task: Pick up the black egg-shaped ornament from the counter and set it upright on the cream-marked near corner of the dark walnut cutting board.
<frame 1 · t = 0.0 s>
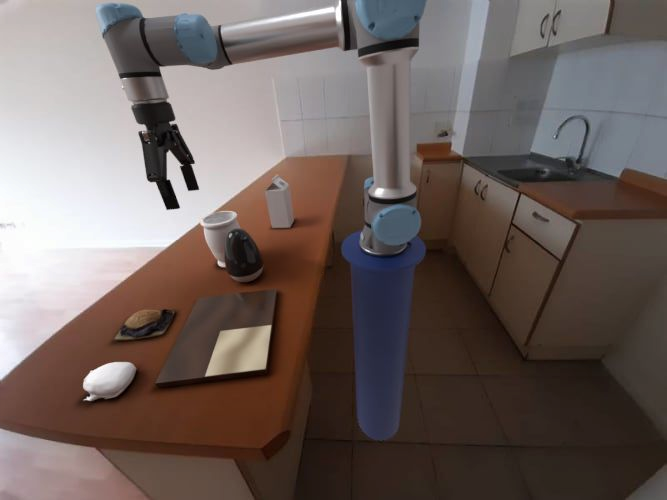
hand: (184, 198, 69), 24 cm above the worktop, tool pointing down, fingers open, 13 cm apart
jar: (231, 261, 88), on the worktop
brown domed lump: (147, 326, 65), on the worktop
milk carton: (283, 224, 110), on the worktop
cutting board: (228, 332, 62), on the worktop
garlic: (113, 385, 52), on the worktop
black egg-shaped ornament: (248, 277, 80), on the worktop
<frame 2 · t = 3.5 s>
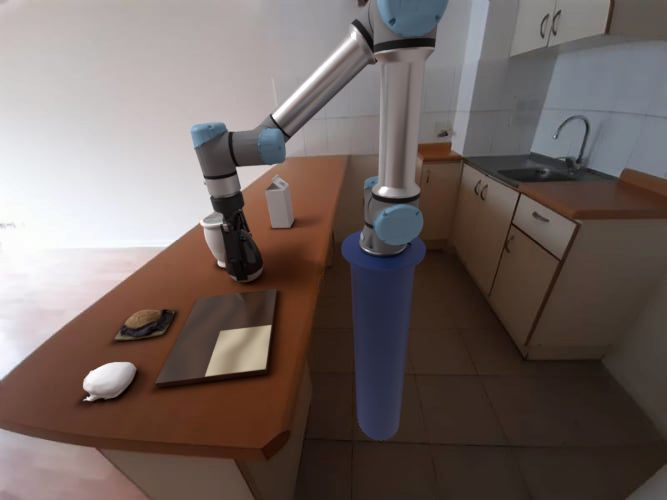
hand: (246, 268, 78), 3 cm above the worktop, tool pointing down, fingers closed on black egg-shaped ornament, 10 cm apart
black egg-shaped ornament: (248, 277, 80), on the worktop, touching gripper
everything else where it was.
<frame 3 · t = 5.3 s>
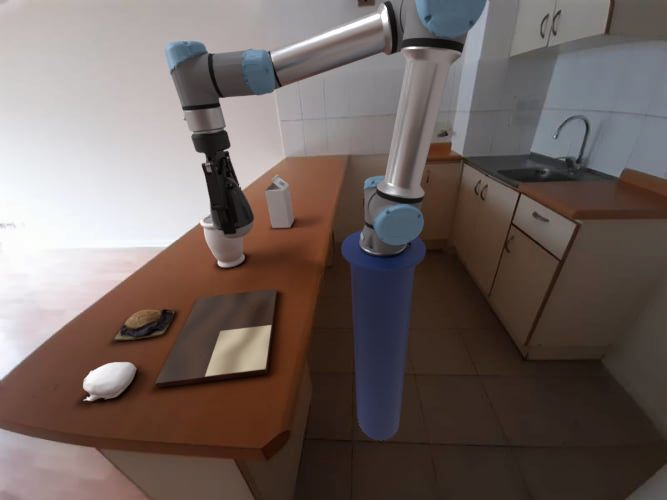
hand: (235, 224, 71), 17 cm above the worktop, tool pointing down, fingers closed on black egg-shaped ornament, 10 cm apart
black egg-shaped ornament: (238, 234, 73), point 14 cm above the worktop, touching gripper
everything else where it was.
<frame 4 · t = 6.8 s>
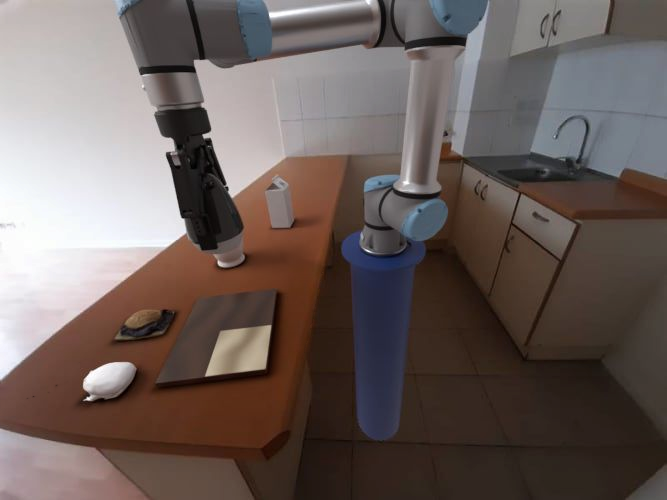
hand: (218, 235, 54), 22 cm above the worktop, tool pointing down, fingers closed on black egg-shaped ornament, 10 cm apart
black egg-shaped ornament: (222, 248, 55), point 19 cm above the worktop, touching gripper
everything else where it was.
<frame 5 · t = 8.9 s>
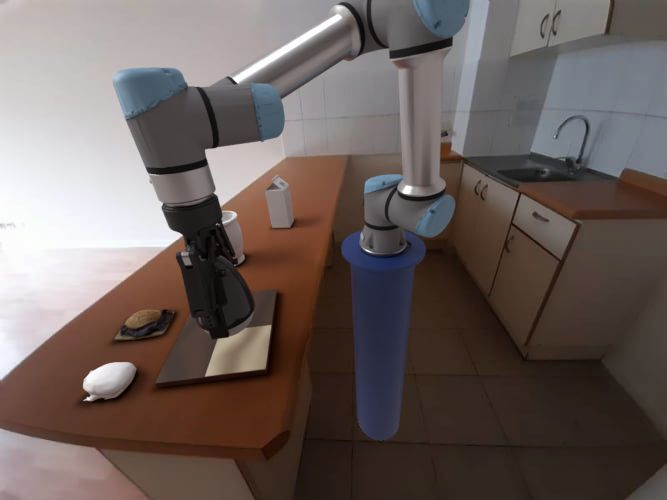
hand: (228, 313, 51), 11 cm above the worktop, tool pointing down, fingers closed on black egg-shaped ornament, 10 cm apart
black egg-shaped ornament: (232, 326, 52), point 8 cm above the worktop, touching gripper
everything else where it was.
when the fingers open (4 cm above the worktop, at t = 10.5 s): black egg-shaped ornament stays where it is, resting on cutting board.
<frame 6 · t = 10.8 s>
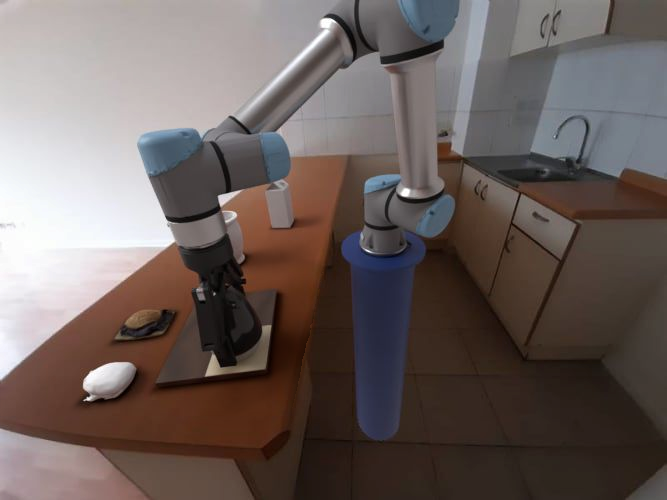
hand: (236, 335, 54), 5 cm above the worktop, tool pointing down, fingers open, 13 cm apart
black egg-shaped ornament: (241, 349, 55), point 1 cm above the worktop, touching cutting board
everything else where it was.
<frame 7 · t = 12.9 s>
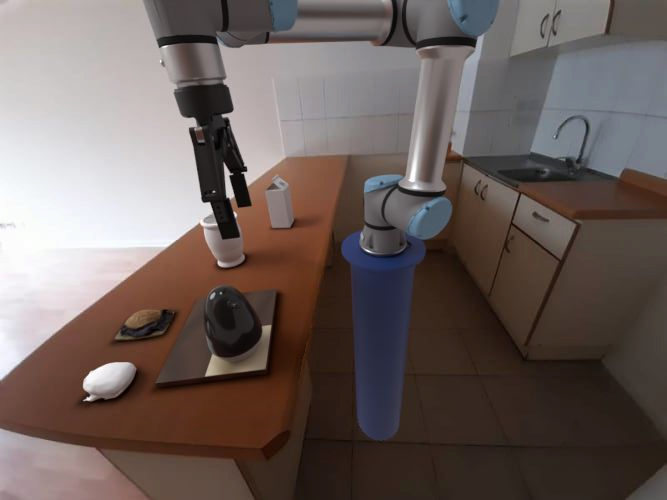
hand: (239, 220, 50), 26 cm above the worktop, tool pointing down, fingers open, 13 cm apart
nothing on the worktop moved.
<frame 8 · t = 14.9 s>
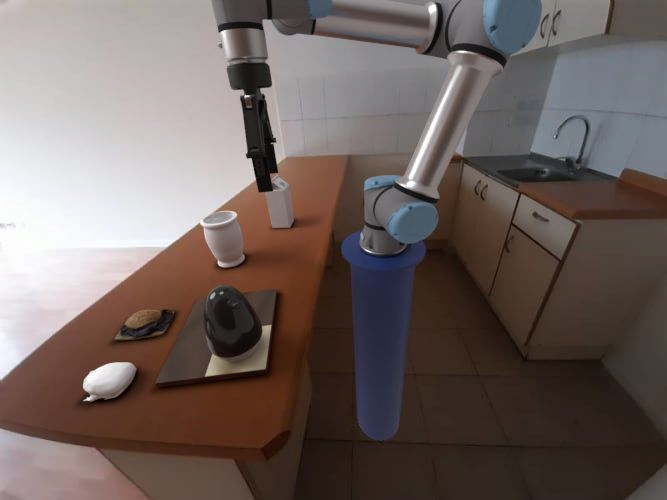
hand: (269, 181, 60), 29 cm above the worktop, tool pointing down, fingers open, 13 cm apart
nothing on the worktop moved.
at the end: black egg-shaped ornament inside the target area (0.2 cm from its centre), point 1.4 cm above the worktop; black egg-shaped ornament tilted 0°; the gripper is holding nothing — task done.
